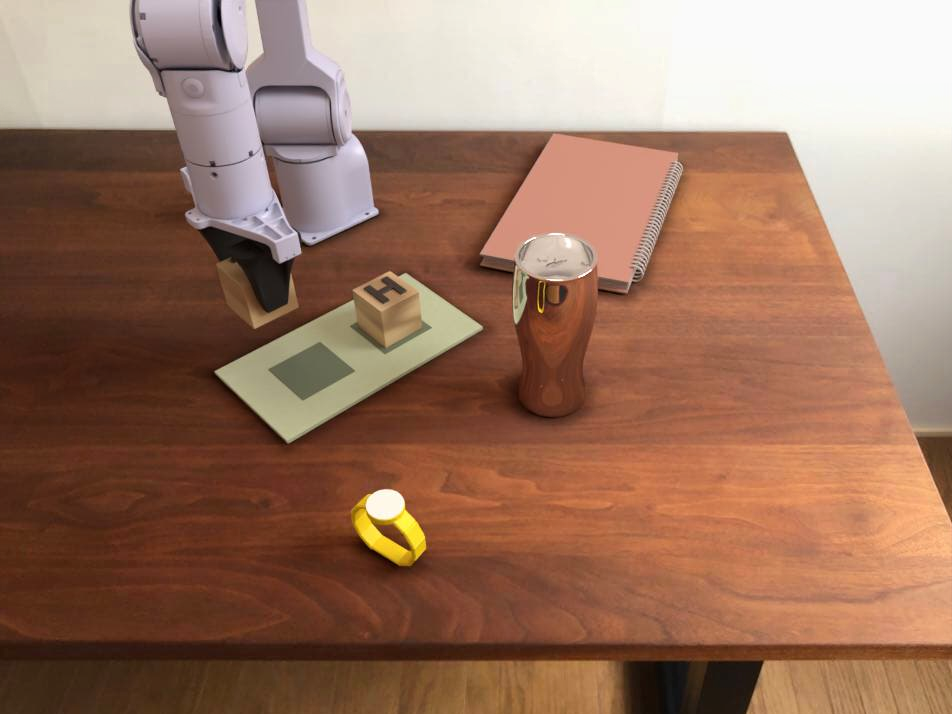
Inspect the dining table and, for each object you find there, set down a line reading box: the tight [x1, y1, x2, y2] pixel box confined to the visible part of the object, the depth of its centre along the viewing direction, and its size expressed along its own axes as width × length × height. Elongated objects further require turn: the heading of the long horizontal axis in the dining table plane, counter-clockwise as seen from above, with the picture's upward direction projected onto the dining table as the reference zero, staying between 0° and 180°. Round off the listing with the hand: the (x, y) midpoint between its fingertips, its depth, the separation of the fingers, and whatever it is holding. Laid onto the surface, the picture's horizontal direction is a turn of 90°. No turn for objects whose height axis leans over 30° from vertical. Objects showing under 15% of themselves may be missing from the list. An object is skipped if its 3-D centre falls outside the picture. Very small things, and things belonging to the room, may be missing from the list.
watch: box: [350, 488, 427, 567], centre depth 66 cm, size 6×3×6 cm, turn 58°
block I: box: [215, 257, 299, 330], centre depth 76 cm, size 4×4×5 cm
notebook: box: [479, 133, 684, 295], centre depth 101 cm, size 27×17×2 cm, turn 163°
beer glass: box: [511, 232, 599, 418], centre depth 75 cm, size 7×7×15 cm
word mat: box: [214, 272, 484, 444], centre depth 84 cm, size 22×12×1 cm, turn 134°
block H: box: [351, 270, 422, 348], centre depth 84 cm, size 4×4×5 cm
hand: (260, 293), depth 76 cm, fingers closed on block I, 4 cm apart
